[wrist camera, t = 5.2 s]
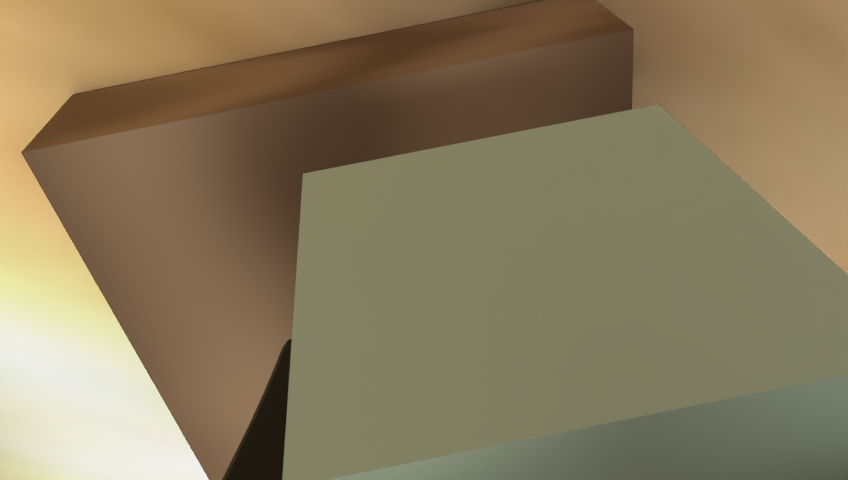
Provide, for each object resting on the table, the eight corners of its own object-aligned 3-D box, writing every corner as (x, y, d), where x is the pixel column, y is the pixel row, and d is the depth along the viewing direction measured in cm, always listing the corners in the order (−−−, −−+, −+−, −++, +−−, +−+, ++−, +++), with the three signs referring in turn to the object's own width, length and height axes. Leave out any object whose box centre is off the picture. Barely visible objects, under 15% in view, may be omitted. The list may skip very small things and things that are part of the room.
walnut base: (584, -9, 15) (633, 29, 13) (592, 359, 22) (625, 430, 19) (72, 94, 15) (21, 152, 13) (239, 431, 22) (227, 512, 19)
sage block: (658, 103, 9) (938, 355, 5) (644, 360, 12) (814, 658, 8) (302, 173, 9) (282, 490, 5) (373, 415, 12) (399, 744, 8)
